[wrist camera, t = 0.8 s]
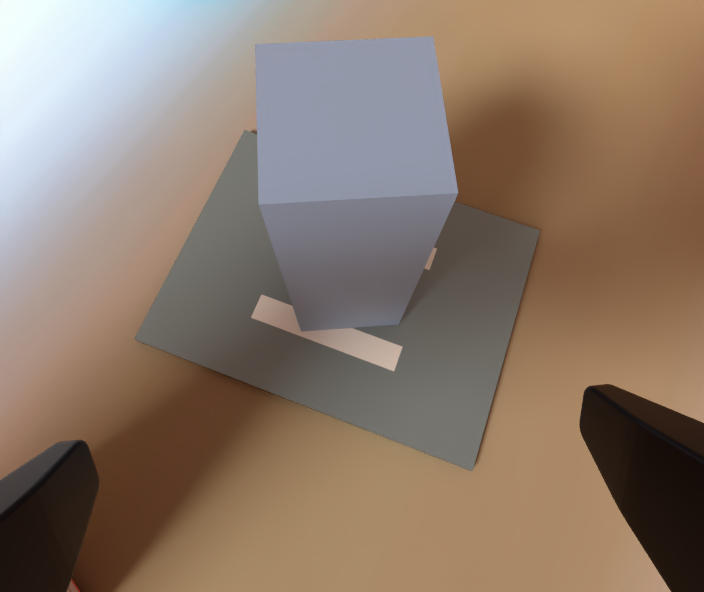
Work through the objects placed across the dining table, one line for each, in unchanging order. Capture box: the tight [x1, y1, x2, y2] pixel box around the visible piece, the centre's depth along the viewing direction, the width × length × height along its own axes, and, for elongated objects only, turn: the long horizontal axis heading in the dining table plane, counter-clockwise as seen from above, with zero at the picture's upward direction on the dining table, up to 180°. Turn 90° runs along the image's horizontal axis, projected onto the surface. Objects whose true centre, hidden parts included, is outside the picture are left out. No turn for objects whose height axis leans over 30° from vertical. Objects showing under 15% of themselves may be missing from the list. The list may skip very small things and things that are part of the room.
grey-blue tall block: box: [255, 36, 458, 332], centre depth 17 cm, size 4×4×12 cm
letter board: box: [135, 130, 540, 471], centre depth 23 cm, size 12×16×1 cm
